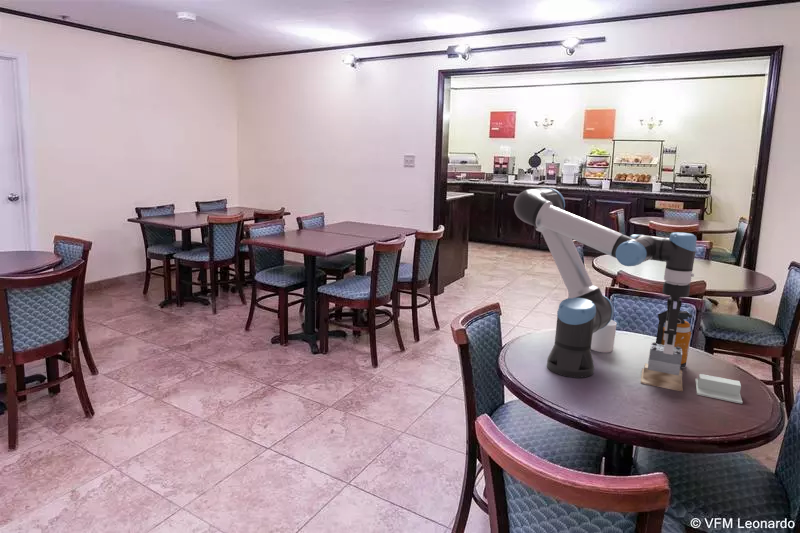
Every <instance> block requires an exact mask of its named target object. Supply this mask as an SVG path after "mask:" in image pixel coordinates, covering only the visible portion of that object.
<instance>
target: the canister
mask: <svg viewBox="0 0 800 533" xmlns="http://www.w3.org/2000/svg"><path fill="white" fill-rule="evenodd" d="M666 315H667V310H664V311H663V312H660V313H658V314H657V317H658V324H657V332H656V338H655V343H657V344H661V345H664V343H665V340H663V339H664V331H665V324H666V321H668V320H667V319H666V317H667V316H666ZM692 318H693V315H692V314H691V313H690V312H688V310H680V313H679V315H678V322H677V330H676V332H677V334H676V337H675V344H674V347H681V348H682V360H681V366H680V369H684V368H687V367H686V366H687V361H688V356H689V355H688V354H689V350H690V345H691V344H690V343H691V337H692V332H691V327H692V326H691V323H689V321H688V319H692ZM686 320H687V321H686Z"/></svg>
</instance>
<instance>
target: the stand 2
mask: <svg viewBox="0 0 800 533" xmlns="http://www.w3.org/2000/svg"><path fill="white" fill-rule="evenodd" d="M694 381H695V390H696V391H695V392H696V395H697V396H702V397H707V398H711V399H712V398H713V399H717V400H722V401H726V402H730V403H731V402H732V403H736V404H739V405H740V404H741V405H742V404H743V400H742V396H741V395H742V394H741V390H742V385H741V382H740V380H735V379H729V378H724V377H720V376H715V375H714V376H713V375H710V374H709V375H708V374H703V373H699V374H698V378H695V379H694Z"/></svg>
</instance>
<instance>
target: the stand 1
mask: <svg viewBox="0 0 800 533" xmlns="http://www.w3.org/2000/svg"><path fill="white" fill-rule="evenodd" d="M640 384H643V385H644V384H645V385H647V386H652V387H653V386H654V387H658V388H663V389H667V390H672V391H677V392H678V391H679V392H683V390H684V389H683V370H682V369H680V372H679V375H674V374H669V373H663V372H658V371H653V370H648V363H646V362H645V363H644V367H643V368H641V375H640Z"/></svg>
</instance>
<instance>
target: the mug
mask: <svg viewBox="0 0 800 533" xmlns="http://www.w3.org/2000/svg"><path fill="white" fill-rule="evenodd" d="M617 323H618V322H616V321H615V320H613V319H612V320H611V321H610V322H609V323H608V325H607V326H605V327H604V328H602V329H599V330H597V331H596V332H594V333H593V335H592V343H591V351H595V352H597V353H604V354H606V353H611V352H613V350H614V346H615V337H616V333H617V332H616V331H617Z"/></svg>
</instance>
